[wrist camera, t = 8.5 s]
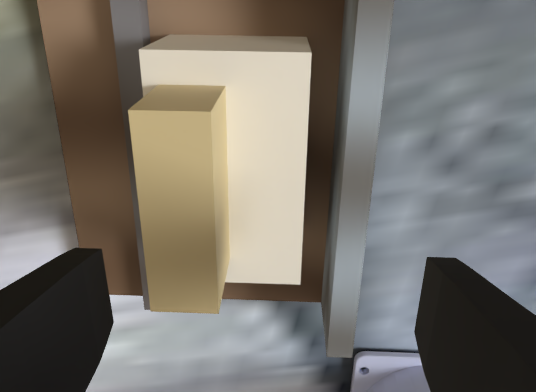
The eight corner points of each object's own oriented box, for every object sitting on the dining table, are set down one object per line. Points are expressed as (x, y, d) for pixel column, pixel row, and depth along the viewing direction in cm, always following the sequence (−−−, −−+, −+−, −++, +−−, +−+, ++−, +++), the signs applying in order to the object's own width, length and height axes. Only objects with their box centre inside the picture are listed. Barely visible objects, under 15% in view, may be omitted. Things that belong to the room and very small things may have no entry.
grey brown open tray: (340, 290, 23) (351, 357, 19) (95, 281, 23) (54, 345, 19) (374, -62, 17) (403, -75, 13) (38, -68, 17) (-40, -82, 13)
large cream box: (298, 230, 21) (302, 343, 14) (183, 227, 21) (137, 337, 14) (306, 36, 17) (317, 71, 11) (169, 34, 17) (101, 67, 11)
